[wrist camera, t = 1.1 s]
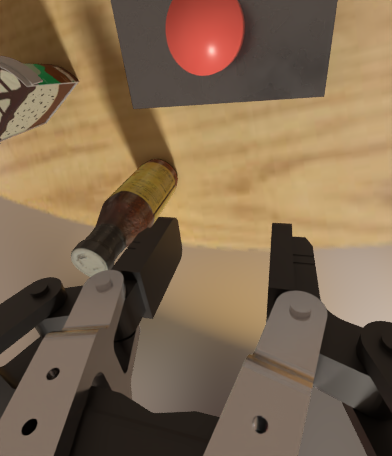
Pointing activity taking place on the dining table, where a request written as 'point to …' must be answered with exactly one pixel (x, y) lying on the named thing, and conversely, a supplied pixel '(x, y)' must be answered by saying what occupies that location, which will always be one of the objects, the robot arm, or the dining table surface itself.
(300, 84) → the console
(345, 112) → the dining table surface
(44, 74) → the food container
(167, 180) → the sauce bottle
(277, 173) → the dining table surface
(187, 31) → the red button
